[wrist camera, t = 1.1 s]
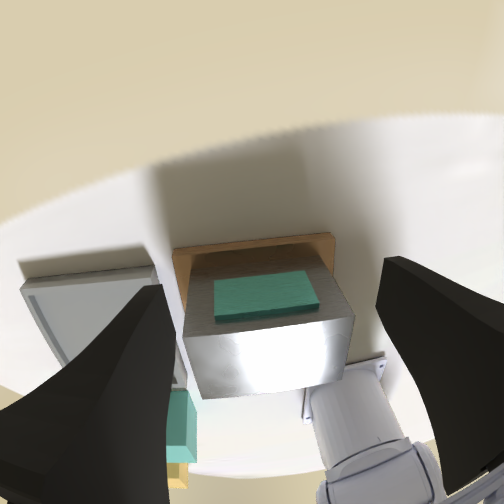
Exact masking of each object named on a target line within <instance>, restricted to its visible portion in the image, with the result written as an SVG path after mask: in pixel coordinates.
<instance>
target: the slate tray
mask: <svg viewBox="0 0 504 504" xmlns="http://www.w3.org/2000/svg"><path fill="white" fill-rule="evenodd" d="M156 284H159V280H158V276H157V272H156V268H155V265H152V266H142V267H133V268H124V269H114V270H105V271H95V272H86V273H76V274H67V275H57V276H48V277H38V278H29V279H27V280H26V282H25V283H24V284H23V285H22V287H21V288H20V289H19V290H20V292H21V294H22V296H23V298H24V300H25V302H26V304H27V306H28V308H29V310H30V312H31V314H32V316H33V318H34V320H35V322H36V324H37V326H38V327H39V329H40V331H41V333H42V335H43V336H44V338H45V340H46V342H47V343H48V345H49V347H50V348H51V350H52V352H53V353H54V355H55V357H56V358H57V360H58V361H59V363H60V365H61V366H62V368H64V367H65V366H66V365H67V364H68V363H69V362H70V361H72V360H73V359H74V358H75V357H76V356H77V355H78V354H79V353H80V352H82V351H83V350H84V349H85V348H86V347H87V346H88V345H89V344H90V343H91V342H92V341H93V340H94V339H95V338H96V336H97V335H98V334H99V333H100V332H101V331H102V330H103V329H104V328H105V327H106V326H107V325H108V324H109V323H110V322H111V321H112V320H113V319H114V317H115V316H116V315H117V314H118V313H119V312H120V311H121V310H122V309H123V307H124V306H125V305H126V304H127V303H128V302H129V301H130V300H131V298H132V297H133V296H134V295H135V294H136V293H137V292H138V291H139V290H140V289H141V288H142V287H143V286H146V285H156ZM171 388H187V372H186V369H185V366H184V363H183V360H182V357H181V354H180V351H179V348H178V345H177V342H176V354H175V366H174V373H173V380H172V387H171Z"/></svg>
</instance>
